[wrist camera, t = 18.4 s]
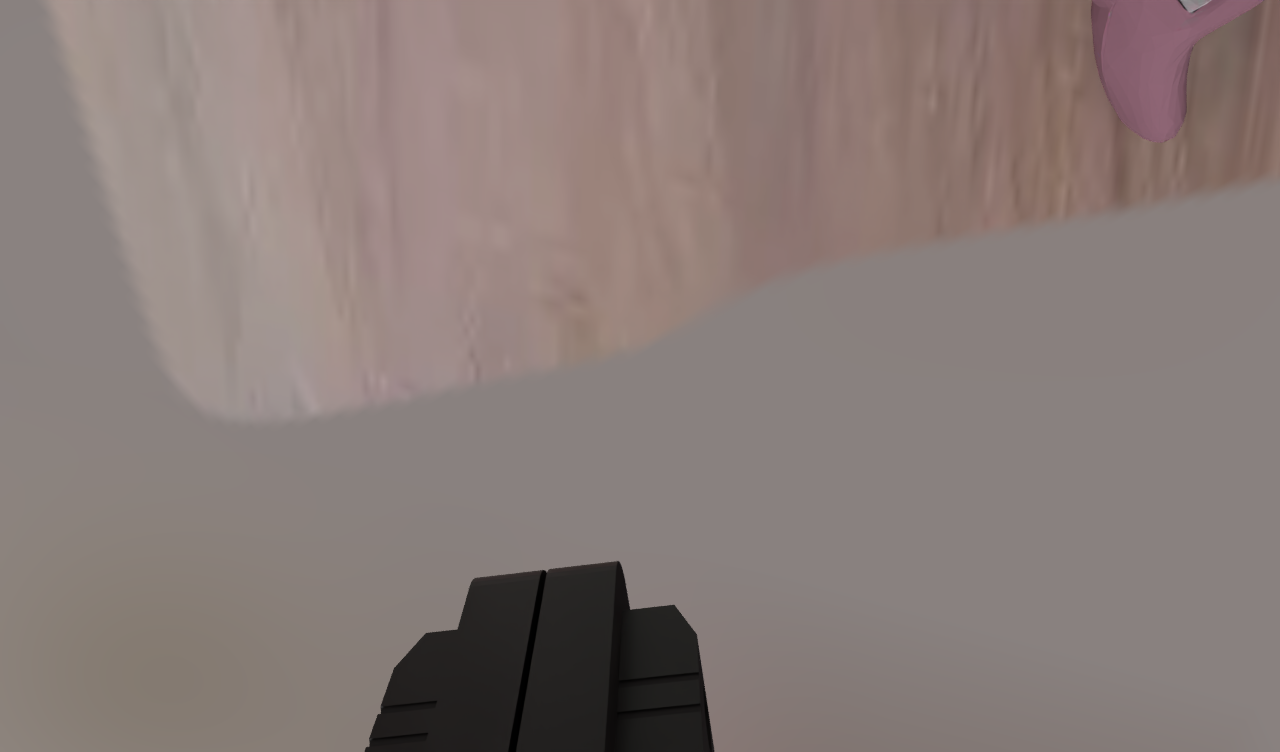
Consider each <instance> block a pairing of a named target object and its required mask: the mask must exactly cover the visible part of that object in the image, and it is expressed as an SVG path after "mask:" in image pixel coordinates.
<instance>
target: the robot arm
mask: <svg viewBox="0 0 1280 752" xmlns="http://www.w3.org/2000/svg"><path fill="white" fill-rule="evenodd" d="M369 741H370V746H369V747H366V749H365V752H714V745H713V739H712V732H711V726H710V719H709V712H708V706H707V700H706V692H705V686H704V680H703V673H702V666H701V660H700V653H699V646H698V639H697V634H696V633H695V631H694V630H693V629H692V628H691V626H690V625H689V624H688V623H687V621H686V620H685V618H684V617H683V616H682V614H681V613H680V612H679V610H678V609H677V608H676V607H675V605H669V606H659V607H651V608H642V609H633V610H630V606H629V600H628V594H627V589H626V583H625V578H624V574H623V570H622V566H621V564H620V562H619V561H617V562H607V563H599V564H590V565H581V566H573V567H564V568H555V569H549V570H548V572H546V571H545V570H540V571H532V572H523V573H516V574H506V575H497V576H489V577H480V578H475V579H473V581H472V582H471V585H470V588H469V592H468V595H467V598H466V602H465V605H464V609H463V612H462V616H461V619H460V623H459V627H458V630H449V631H441V632H432V633H426V634H425V635H424V636H423V637H422V638H421V639H420V640H419V641H418V642H417V644H416V645H415V646H414V647H413V648H412V649H411V650H410V651H409V653H408V654H407V655H406V656H405V657H404V658H403V659H402V660H401V661H400V662H399V663H398V665H397V666H396V667H395V668H394V670H393V673H392V676H391V679H390V682H389V684H388V687H387V690H386V693H385V695H384V698H383V701H382V704H381V714H378V715H377V718H376V721H375V724H374V726H373V729H372V733H371V735H370V738H369Z"/></svg>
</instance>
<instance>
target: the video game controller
mask: <svg viewBox="0 0 1280 752" xmlns="http://www.w3.org/2000/svg"><path fill="white" fill-rule="evenodd" d="M1262 1H1264V0H1092V6H1091V18H1092V31H1093V43H1094V54H1095V58H1096V63H1097V68H1098V73H1099V77H1100V79H1101V82H1102V85H1103V87H1104V90H1105V92H1106V95H1107V98H1108V99H1109V101H1110V103H1111V104H1112V106H1113V108H1114V109H1115V111H1116V113H1117V115H1118V117H1119V118H1120V120H1121V121H1122V122H1123V123H1124V124H1125V125H1126V126H1127V127H1128V128H1129V129H1131V130H1132V131H1133V132H1135V133H1136V134H1138V135H1139V136H1141V137H1142V138H1144V139H1146V140H1149V141H1152V142H1161V143H1162V142H1164V141H1167V140H1169V139H1171V138H1174V137H1175V136H1176V134H1177V133H1178V131H1179V129H1180V127H1181V125H1182V124H1183V122H1184V118H1185V115H1186V84H1187V71H1188V65H1189V60H1190V54H1191V51H1192V48H1193V46H1194V44H1195V43H1196V42H1197V41H1198V40H1199V39H1201V38H1202V37H1204V36H1205V35H1207V34H1209V33H1210V32H1212V31H1214V30H1216V29H1217V28H1219V27H1221V26H1223V25H1224V24H1226V23H1228V22H1230V21H1231V20H1233V19H1235V18H1237V17H1238V16H1240V15H1242V14H1243V13H1245V12H1247V11H1249V10H1250V9H1252V8H1253V7H1255V6H1256V5H1258V4H1259V3H1261V2H1262Z"/></svg>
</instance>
